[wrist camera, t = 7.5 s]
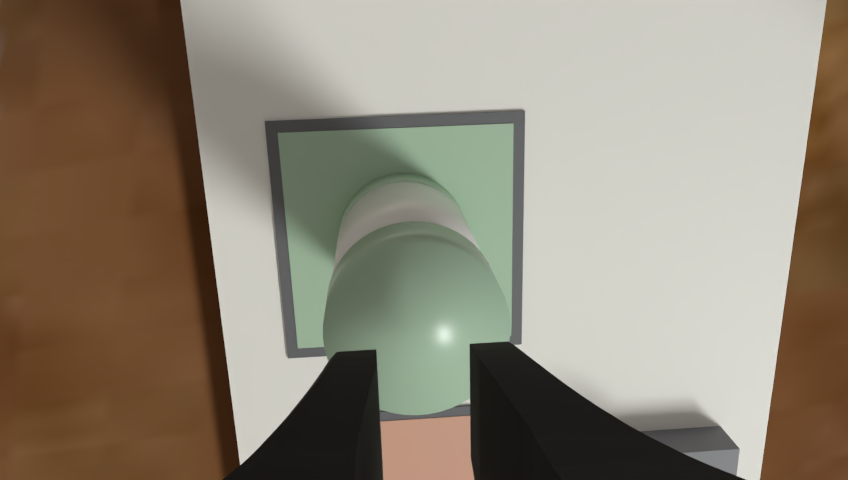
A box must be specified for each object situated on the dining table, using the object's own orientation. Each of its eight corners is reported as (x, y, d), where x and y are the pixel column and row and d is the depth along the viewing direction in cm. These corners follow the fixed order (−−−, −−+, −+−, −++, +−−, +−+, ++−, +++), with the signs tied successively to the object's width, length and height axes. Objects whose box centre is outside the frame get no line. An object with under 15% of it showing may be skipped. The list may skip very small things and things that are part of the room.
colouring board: (810, -49, 18) (866, -58, 16) (729, 568, 25) (763, 620, 22) (186, -33, 17) (161, -39, 15) (266, 607, 24) (256, 664, 21)
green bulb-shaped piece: (469, 170, 18) (515, 241, 13) (466, 295, 19) (506, 412, 14) (334, 171, 18) (319, 245, 12) (338, 297, 19) (326, 418, 13)
